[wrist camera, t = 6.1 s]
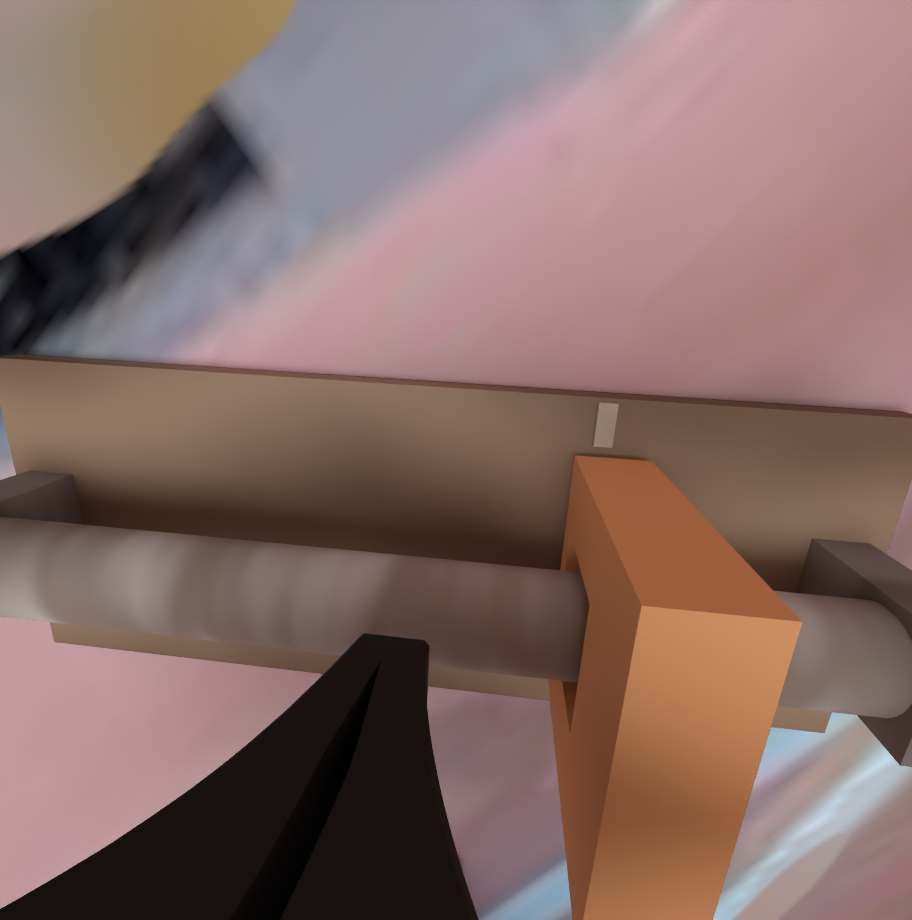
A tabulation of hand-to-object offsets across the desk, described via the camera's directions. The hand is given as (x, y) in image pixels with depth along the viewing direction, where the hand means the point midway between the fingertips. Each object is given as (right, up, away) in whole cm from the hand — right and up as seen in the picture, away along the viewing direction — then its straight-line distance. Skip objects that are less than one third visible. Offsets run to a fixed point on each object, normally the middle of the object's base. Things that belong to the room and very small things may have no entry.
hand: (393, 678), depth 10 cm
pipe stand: (0, +2, +6) cm, 6 cm away
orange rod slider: (+5, +1, +4) cm, 7 cm away
